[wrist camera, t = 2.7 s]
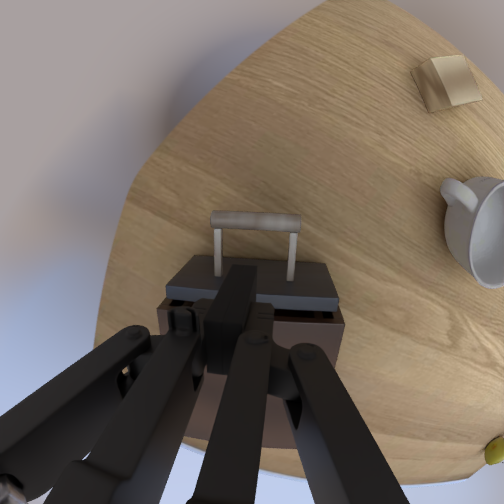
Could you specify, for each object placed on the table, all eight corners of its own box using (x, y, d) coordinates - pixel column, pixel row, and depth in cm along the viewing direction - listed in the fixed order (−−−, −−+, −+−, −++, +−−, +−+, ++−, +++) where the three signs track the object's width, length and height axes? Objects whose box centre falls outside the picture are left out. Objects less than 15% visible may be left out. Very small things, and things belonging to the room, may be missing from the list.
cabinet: (192, 267, 30) (156, 308, 21) (327, 275, 29) (345, 323, 19) (201, 384, 35) (182, 435, 26) (306, 393, 34) (309, 449, 25)
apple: (503, 431, 35) (515, 456, 26) (501, 433, 38) (512, 456, 29) (480, 449, 37) (491, 474, 28) (480, 449, 40) (490, 472, 32)
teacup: (505, 217, 24) (545, 232, 16) (461, 281, 27) (496, 310, 19) (448, 134, 22) (492, 129, 15) (397, 205, 25) (434, 220, 18)
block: (410, 71, 21) (430, 57, 16) (441, 66, 20) (463, 54, 15) (428, 113, 22) (452, 106, 17) (458, 106, 21) (483, 99, 16)
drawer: (193, 202, 27) (160, 215, 19) (331, 208, 26) (349, 225, 18) (202, 374, 33) (185, 418, 26) (305, 384, 32) (307, 430, 25)
